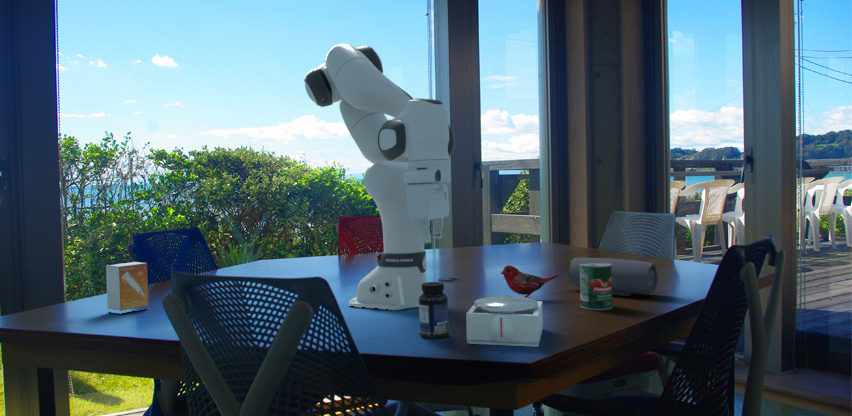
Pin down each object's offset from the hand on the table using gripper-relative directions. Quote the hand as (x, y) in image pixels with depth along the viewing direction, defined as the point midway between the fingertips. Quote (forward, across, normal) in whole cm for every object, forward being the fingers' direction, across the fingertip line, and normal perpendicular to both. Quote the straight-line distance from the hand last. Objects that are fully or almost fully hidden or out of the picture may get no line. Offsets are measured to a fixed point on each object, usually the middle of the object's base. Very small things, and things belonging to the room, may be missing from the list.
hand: (432, 240), depth 116 cm
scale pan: (+17, -2, +15) cm, 23 cm away
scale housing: (+20, -2, +15) cm, 25 cm away
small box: (+19, -11, -89) cm, 92 cm away
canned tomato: (+21, -33, +34) cm, 52 cm away
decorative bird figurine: (+20, -40, +17) cm, 48 cm away
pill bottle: (+20, 0, 0) cm, 20 cm away
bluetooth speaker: (+21, -52, +39) cm, 68 cm away
